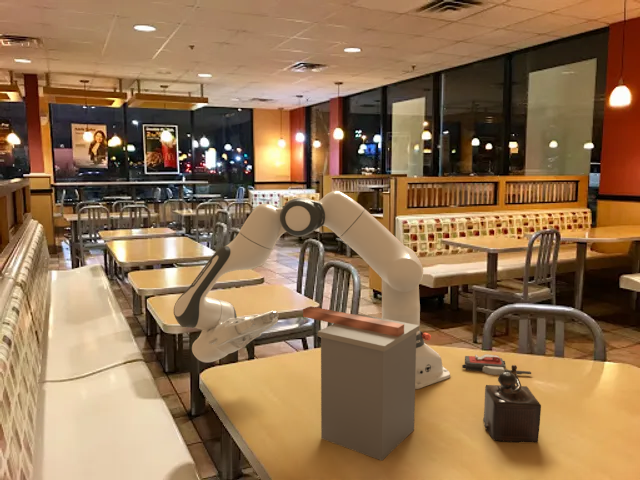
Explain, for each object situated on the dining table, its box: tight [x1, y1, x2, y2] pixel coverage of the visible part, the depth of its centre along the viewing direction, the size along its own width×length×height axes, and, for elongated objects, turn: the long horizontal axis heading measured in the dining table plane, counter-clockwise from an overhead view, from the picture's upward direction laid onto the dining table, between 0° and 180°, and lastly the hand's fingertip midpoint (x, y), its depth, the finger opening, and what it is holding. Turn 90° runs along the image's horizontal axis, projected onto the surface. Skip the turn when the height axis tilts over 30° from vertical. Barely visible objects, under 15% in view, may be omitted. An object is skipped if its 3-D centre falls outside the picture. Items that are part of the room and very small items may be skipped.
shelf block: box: [317, 313, 420, 461], centre depth 122 cm, size 17×17×26 cm
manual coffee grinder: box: [482, 364, 542, 443], centre depth 121 cm, size 16×11×18 cm
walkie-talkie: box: [461, 353, 532, 376], centre depth 162 cm, size 9×4×20 cm
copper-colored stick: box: [302, 306, 404, 337], centre depth 123 cm, size 26×3×2 cm, turn 55°
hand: (264, 317), depth 139 cm, fingers open, 8 cm apart
